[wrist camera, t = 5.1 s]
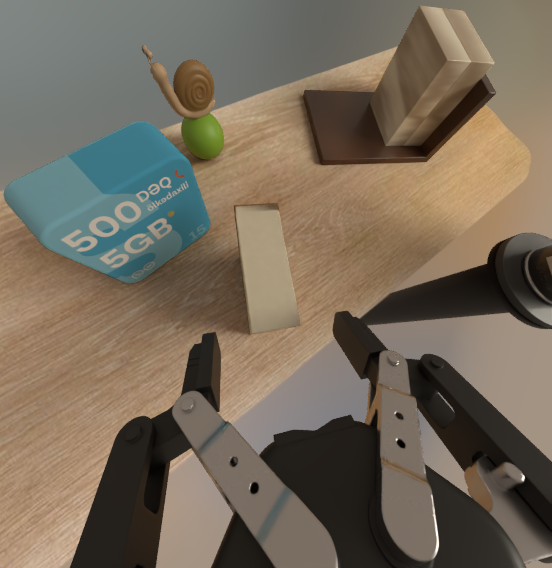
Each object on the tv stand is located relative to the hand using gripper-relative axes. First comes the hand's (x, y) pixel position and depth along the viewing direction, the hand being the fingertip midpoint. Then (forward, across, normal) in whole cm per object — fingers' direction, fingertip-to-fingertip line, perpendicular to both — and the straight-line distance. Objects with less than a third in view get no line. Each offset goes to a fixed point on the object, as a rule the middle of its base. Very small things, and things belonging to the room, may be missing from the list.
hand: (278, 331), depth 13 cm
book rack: (+31, -23, -14) cm, 41 cm away
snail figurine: (+28, +5, -11) cm, 30 cm away
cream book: (+12, 0, +5) cm, 13 cm away
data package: (+18, +11, -1) cm, 21 cm away
